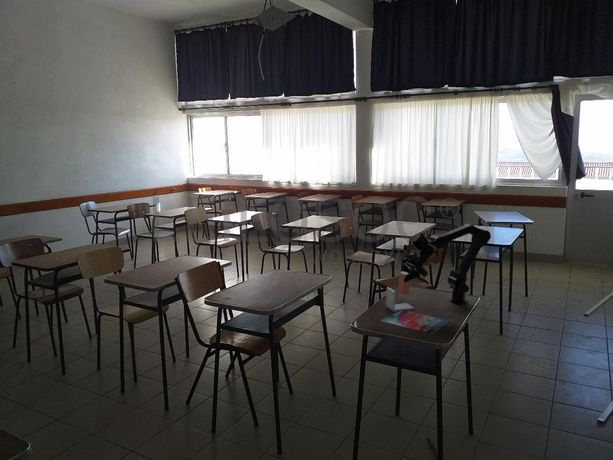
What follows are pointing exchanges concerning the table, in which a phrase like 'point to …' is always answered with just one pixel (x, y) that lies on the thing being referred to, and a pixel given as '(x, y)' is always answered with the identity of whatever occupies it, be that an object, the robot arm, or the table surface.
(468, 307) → the table surface
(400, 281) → the book
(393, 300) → the bookstand
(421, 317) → the tablet
